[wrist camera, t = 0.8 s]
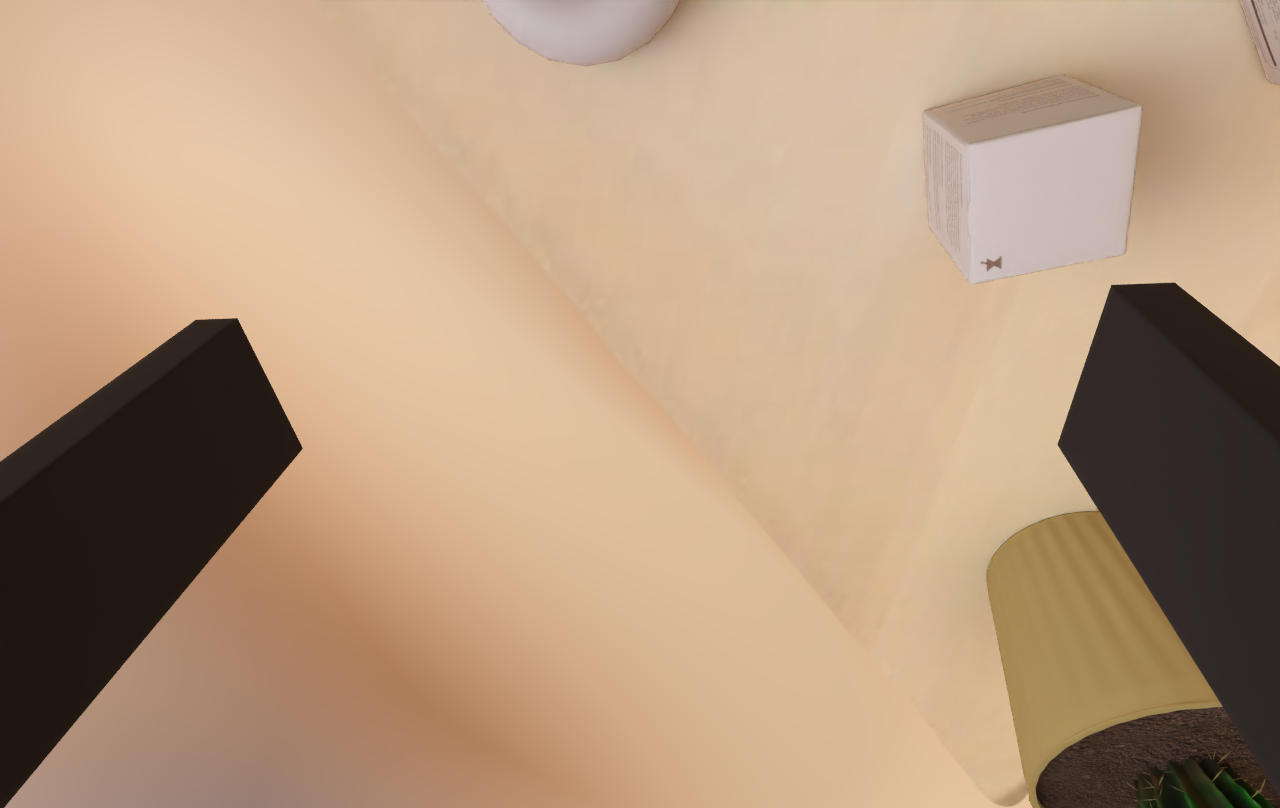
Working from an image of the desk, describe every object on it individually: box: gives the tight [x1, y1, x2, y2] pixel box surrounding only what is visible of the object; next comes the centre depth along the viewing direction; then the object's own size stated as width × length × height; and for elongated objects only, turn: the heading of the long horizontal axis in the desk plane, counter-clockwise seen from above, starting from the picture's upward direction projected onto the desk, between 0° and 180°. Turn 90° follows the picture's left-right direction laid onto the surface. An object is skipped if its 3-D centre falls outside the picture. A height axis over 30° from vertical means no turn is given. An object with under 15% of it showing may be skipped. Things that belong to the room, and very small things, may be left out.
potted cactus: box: [987, 511, 1280, 808], centre depth 34 cm, size 15×15×30 cm
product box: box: [923, 75, 1143, 284], centre depth 29 cm, size 6×6×7 cm
